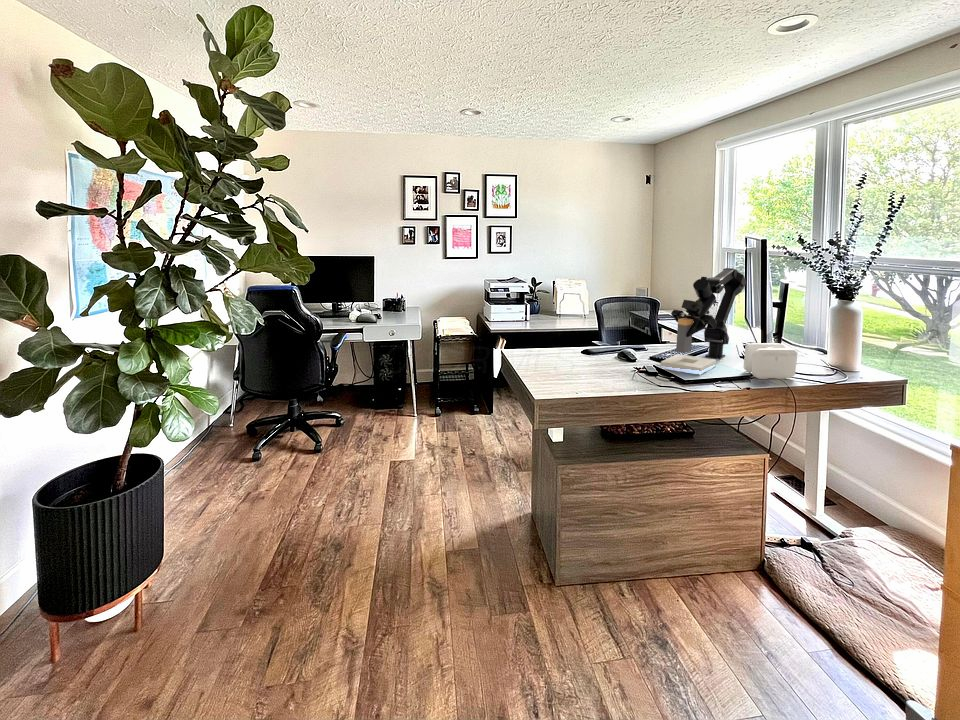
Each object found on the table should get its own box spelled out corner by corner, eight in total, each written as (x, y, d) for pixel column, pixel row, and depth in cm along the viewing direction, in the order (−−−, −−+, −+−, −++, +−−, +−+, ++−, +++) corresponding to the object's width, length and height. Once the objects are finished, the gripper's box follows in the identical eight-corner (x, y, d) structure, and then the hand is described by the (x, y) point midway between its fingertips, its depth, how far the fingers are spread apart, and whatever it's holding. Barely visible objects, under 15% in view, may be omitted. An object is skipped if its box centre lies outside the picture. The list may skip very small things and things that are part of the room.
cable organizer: (782, 372, 217) (786, 343, 214) (795, 380, 207) (799, 349, 204) (742, 372, 218) (745, 343, 215) (752, 379, 208) (756, 349, 205)
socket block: (676, 360, 236) (677, 354, 236) (715, 366, 226) (715, 359, 225) (660, 368, 225) (660, 361, 224) (700, 375, 214) (701, 368, 214)
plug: (682, 349, 227) (685, 317, 224) (690, 351, 224) (693, 319, 221) (676, 350, 225) (678, 319, 222) (684, 352, 222) (686, 320, 219)
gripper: (675, 289, 228) (654, 319, 226) (714, 294, 213) (692, 326, 210) (687, 306, 234) (667, 336, 232) (726, 313, 219) (705, 344, 216)
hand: (682, 335), depth 222 cm, fingers closed on plug, 4 cm apart
